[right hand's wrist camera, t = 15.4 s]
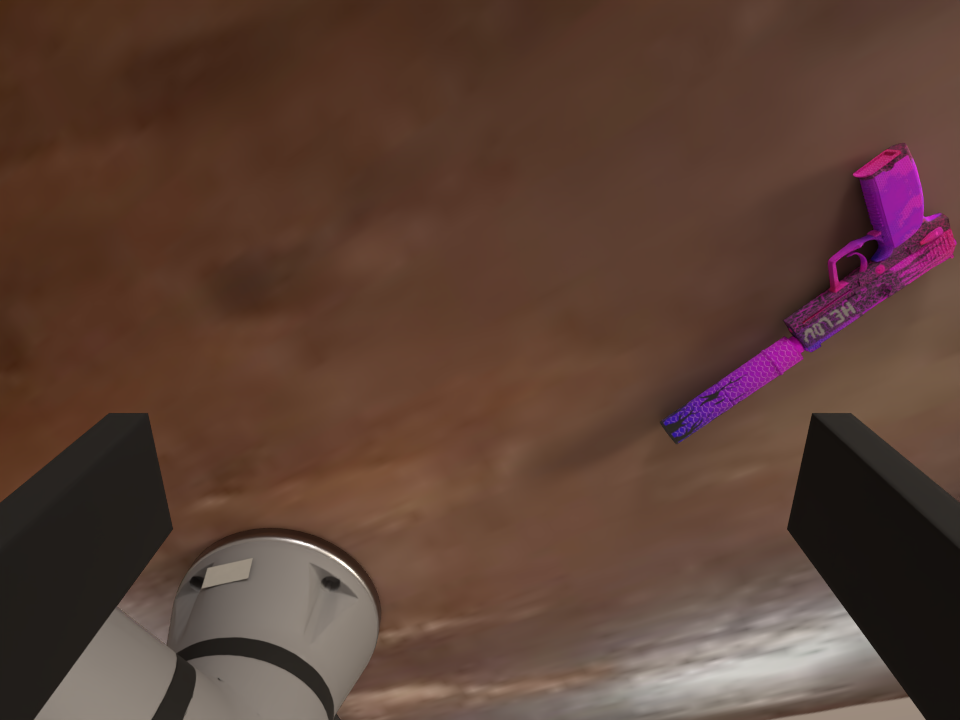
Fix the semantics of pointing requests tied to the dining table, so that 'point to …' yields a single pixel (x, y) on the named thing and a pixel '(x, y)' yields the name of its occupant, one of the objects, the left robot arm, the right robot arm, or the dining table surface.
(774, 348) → the handgun
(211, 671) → the right robot arm
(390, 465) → the dining table surface
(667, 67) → the dining table surface
